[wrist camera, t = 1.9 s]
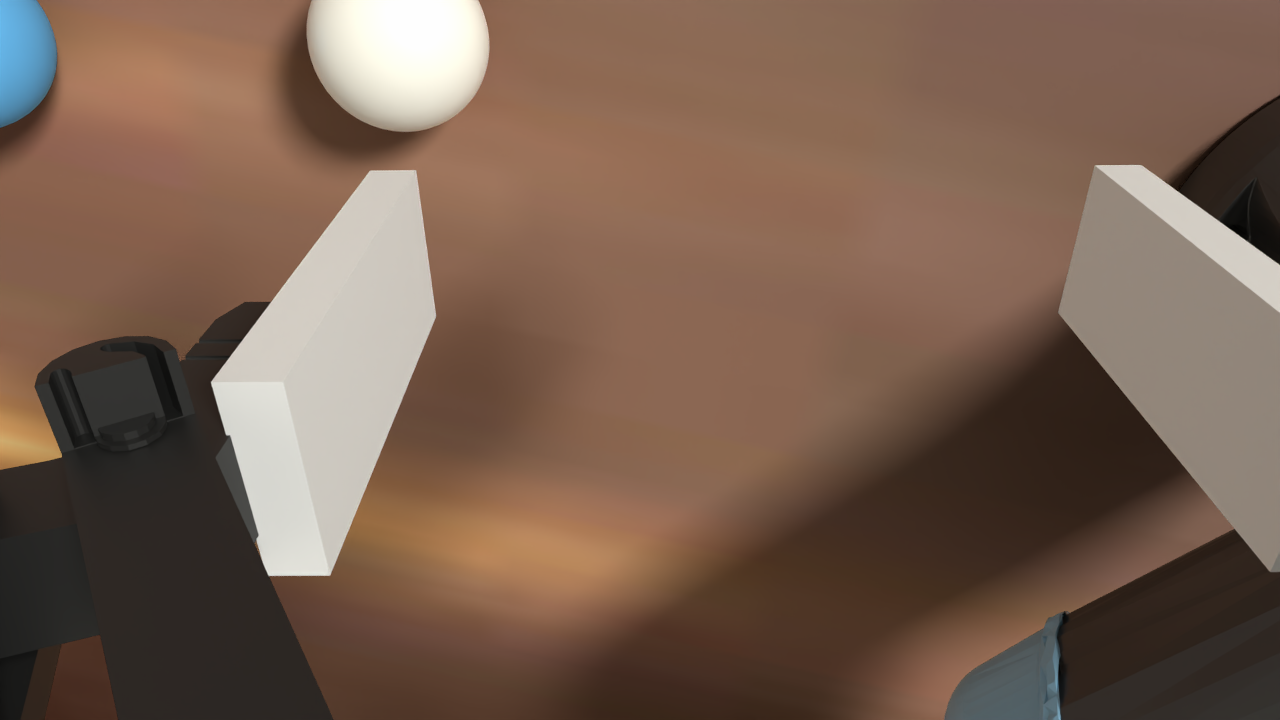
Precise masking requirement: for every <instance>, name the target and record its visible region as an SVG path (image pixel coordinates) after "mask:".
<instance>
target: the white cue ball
mask: <svg viewBox="0 0 1280 720" xmlns="http://www.w3.org/2000/svg"><path fill="white" fill-rule="evenodd" d="M307 42H308V50H309V54H310V58H311V61H312V64H313V67H314V70H315V72H316V74H317V76H318V78H319V80H320V82H321V83H322V85H323V86H324V88H325V89H326V91H327V92H328V93H329V94H330V96H331V97H332V98H333V99H334V100H335V101H336V102H337V103H338V104H339V105H340V106H341V107H342V108H343V109H344V110H346V111H347V112H348V113H350V114H351V115H352V116H354V117H356V118H357V119H359V120H361V121H363V122H365V123H367V124H369V125H372V126H375V127H378V128H381V129H385V130H391V131H399V132H413V131H421V130H426V129H429V128H432V127H435V126H438V125H440V124H442V123H444V122H446V121H448V120H450V119H451V118H453V117H454V116H456V115H457V114H458V113H459V112H460V111H461V110H462V109H464V108H465V107H466V106H467V105H468V103H469V102H470V101H471V100H472V98H473V97H474V96H475V94H476V92H477V91H478V89H479V87H480V85H481V83H482V80H483V78H484V75H485V72H486V68H487V64H488V58H489V34H488V27H487V23H486V20H485V16H484V13H483V10H482V8H481V6H480V3H479V1H478V0H312V1H311V4H310V8H309V11H308V18H307Z"/></svg>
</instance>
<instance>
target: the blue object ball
mask: <svg viewBox="0 0 1280 720" xmlns="http://www.w3.org/2000/svg"><path fill="white" fill-rule="evenodd" d="M56 66H57V47H56V41H55V37H54V33H53V30H52V27H51V25H50V22H49V20H48V18H47V16H46V14H45V12H44V11H43V9H42V8H41V6H40V4H39V3H38V2H37V0H0V128H1V127H4V126H7V125H9V124H12V123H14V122H16V121H18V120H20V119H21V118H23V117H25V116H26V115H28V114H29V113H30V112H31V111H33V110H34V109H35V108H36V107H37V106H38V105H39V104H40V102H41V101H42V100H43V99H44V98H45V96H46V95H47V93H48V91H49V89H50V87H51V85H52V82H53V79H54V76H55V72H56Z"/></svg>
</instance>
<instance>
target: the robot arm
mask: <svg viewBox="0 0 1280 720" xmlns="http://www.w3.org/2000/svg"><path fill="white" fill-rule="evenodd" d="M1058 313H1059V314H1060V316H1061V317H1062V318H1063V319H1064V321H1065V322H1066V323H1067V324H1068V326H1069V327H1070V328H1071V329H1072V330H1073V332H1074V333H1075V334H1076V335H1077V337H1078V338H1079V339H1080V340H1081V341H1082V343H1083V344H1084V345H1085V346H1086V348H1087V349H1088V350H1089V351H1090V352H1091V354H1092V355H1093V356H1094V357H1095V359H1096V360H1097V361H1098V362H1099V363H1100V365H1101V366H1102V367H1103V368H1104V370H1105V371H1106V372H1107V373H1108V374H1109V376H1110V377H1111V378H1112V379H1113V381H1114V382H1115V383H1116V384H1117V385H1118V387H1119V388H1120V389H1121V390H1122V392H1123V393H1124V394H1125V395H1126V396H1127V398H1128V399H1129V400H1130V401H1131V403H1132V404H1133V405H1134V406H1135V407H1136V409H1137V410H1138V411H1139V412H1140V414H1141V415H1142V416H1143V417H1144V418H1145V420H1146V421H1147V422H1148V423H1149V425H1150V426H1151V427H1152V428H1153V429H1154V431H1155V432H1156V433H1157V434H1158V436H1159V437H1160V438H1161V439H1162V440H1163V442H1164V443H1165V444H1166V445H1167V447H1168V448H1169V449H1170V450H1171V451H1172V453H1173V454H1174V455H1175V456H1176V458H1177V459H1178V460H1179V461H1180V462H1181V464H1182V465H1183V466H1184V467H1185V469H1186V470H1187V471H1188V472H1189V473H1190V475H1191V476H1192V477H1193V478H1194V480H1195V481H1196V482H1197V483H1198V484H1199V486H1200V487H1201V488H1202V489H1203V491H1204V492H1205V493H1206V494H1207V496H1208V497H1209V498H1210V499H1211V500H1212V502H1213V503H1214V504H1215V505H1216V507H1217V508H1218V509H1219V510H1220V511H1221V513H1222V514H1223V515H1224V516H1225V518H1226V519H1227V520H1228V521H1229V522H1230V524H1231V525H1232V526H1233V527H1234V529H1233V530H1231V531H1229V532H1227V533H1225V534H1223V535H1221V536H1219V537H1217V538H1216V539H1214V540H1212V541H1210V542H1208V543H1206V544H1204V545H1202V546H1200V547H1198V548H1196V549H1194V550H1192V551H1190V552H1188V553H1186V554H1184V555H1182V556H1180V557H1178V558H1176V559H1175V560H1173V561H1171V562H1169V563H1167V564H1165V565H1163V566H1161V567H1159V568H1157V569H1155V570H1153V571H1151V572H1149V573H1147V574H1145V575H1143V576H1141V577H1139V578H1137V579H1135V580H1134V581H1132V582H1130V583H1128V584H1126V585H1124V586H1122V587H1120V588H1118V589H1116V590H1114V591H1112V592H1110V593H1108V594H1106V595H1104V596H1102V597H1100V598H1098V599H1096V600H1094V601H1093V602H1091V603H1089V604H1087V605H1085V606H1083V607H1081V608H1079V609H1077V610H1075V611H1073V612H1071V613H1069V612H1068V611H1064V612H1062V613H1059V614H1056V615H1055V616H1053V617H1049V618H1048V620H1047V621H1046V624H1045V627H1044V628H1043V629H1041V630H1040V631H1038V632H1036V633H1035V634H1033V635H1031V636H1029V637H1028V638H1026V639H1024V640H1022V641H1021V642H1019V643H1017V644H1016V645H1014V646H1012V647H1010V648H1009V649H1007V650H1005V651H1003V652H1002V653H1000V654H998V655H997V656H995V657H993V658H991V659H990V660H988V661H986V662H985V663H983V664H981V665H979V666H978V667H976V668H975V669H973V670H972V671H971V672H969V673H968V674H967V675H966V676H965V677H964V678H963V679H962V680H961V681H960V683H959V684H958V685H957V687H956V689H955V690H954V692H953V694H952V696H951V698H950V700H949V703H948V706H947V709H946V713H945V718H944V720H1280V98H1279V99H1278V100H1276V101H1274V102H1273V103H1271V104H1270V105H1268V106H1267V107H1265V108H1264V109H1262V110H1261V111H1259V112H1258V113H1257V114H1255V115H1254V116H1253V117H1251V118H1250V119H1249V120H1247V121H1246V122H1245V123H1243V124H1242V125H1241V126H1240V127H1238V128H1237V129H1236V130H1235V131H1234V132H1232V133H1231V134H1230V135H1229V136H1228V137H1227V138H1226V139H1224V140H1223V141H1222V142H1221V143H1220V144H1219V145H1218V146H1217V147H1216V148H1215V149H1214V150H1213V151H1212V152H1211V153H1210V154H1209V155H1208V156H1207V157H1206V158H1205V159H1204V160H1203V161H1202V163H1201V164H1200V165H1199V166H1198V167H1197V168H1196V170H1195V171H1194V172H1193V173H1192V174H1191V175H1190V177H1189V178H1188V179H1187V181H1186V182H1185V183H1184V185H1183V186H1182V187H1181V189H1180V190H1179V192H1178V191H1176V190H1175V189H1174V188H1172V187H1171V186H1169V185H1168V184H1167V183H1165V182H1164V181H1162V180H1161V179H1160V178H1158V177H1157V176H1156V175H1154V174H1153V173H1151V172H1150V171H1149V170H1147V169H1146V168H1144V167H1143V166H1142V165H1095V166H1094V170H1093V174H1092V178H1091V182H1090V186H1089V190H1088V194H1087V198H1086V202H1085V206H1084V210H1083V214H1082V219H1081V223H1080V227H1079V231H1078V235H1077V239H1076V243H1075V247H1074V251H1073V255H1072V259H1071V263H1070V267H1069V271H1068V275H1067V279H1066V283H1065V287H1064V291H1063V295H1062V299H1061V303H1060V307H1059V311H1058ZM435 318H436V312H435V305H434V298H433V290H432V283H431V276H430V268H429V261H428V254H427V247H426V239H425V232H424V225H423V217H422V210H421V203H420V195H419V188H418V181H417V174H416V170H390V171H370V172H369V173H368V174H367V176H366V177H365V178H364V180H363V181H362V182H361V184H360V185H359V186H358V188H357V189H356V190H355V192H354V193H353V194H352V196H351V197H350V198H349V200H348V201H347V202H346V204H345V205H344V206H343V207H342V209H341V210H340V211H339V213H338V214H337V215H336V217H335V218H334V219H333V221H332V222H331V223H330V225H329V226H328V227H327V229H326V230H325V231H324V233H323V234H322V235H321V237H320V238H319V239H318V241H317V242H316V243H315V245H314V246H313V247H312V249H311V250H310V251H309V253H308V254H307V255H306V257H305V258H304V259H303V261H302V262H301V263H300V265H299V266H298V267H297V269H296V270H295V271H294V273H293V274H292V275H291V277H290V278H289V279H288V281H287V282H286V283H285V284H284V286H283V287H282V288H281V290H280V291H279V292H278V294H277V295H276V296H275V298H274V299H273V300H272V302H244V303H243V304H241V305H239V306H238V307H236V308H234V309H233V310H231V311H229V312H228V313H226V314H224V315H223V316H221V317H219V318H218V319H216V320H215V321H214V322H213V323H212V325H211V326H210V327H209V328H208V329H207V331H206V332H205V333H204V334H203V335H202V337H201V338H200V339H199V343H196V344H195V345H194V346H193V347H192V349H191V350H190V351H189V352H188V353H187V355H186V356H185V357H186V359H185V360H182V361H181V362H180V361H179V358H178V355H177V351H176V349H175V348H174V347H173V346H172V345H171V344H170V343H168V342H167V341H166V340H162V339H157V338H153V337H149V336H125V337H119V338H113V339H108V340H102V341H98V342H95V343H92V344H89V345H86V346H83V347H80V348H77V349H74V350H72V351H70V352H68V353H66V354H64V355H62V356H60V357H59V358H57V359H55V360H53V361H51V362H50V363H49V364H48V365H47V366H46V367H45V368H44V369H43V370H42V371H41V372H40V373H39V374H38V376H37V380H36V383H35V389H36V391H37V394H38V396H39V399H40V401H41V404H42V406H43V409H44V411H45V413H46V416H47V418H48V421H49V423H50V426H51V428H52V431H53V433H54V436H55V438H56V441H57V443H58V446H59V448H60V451H61V453H62V458H58V459H54V460H50V461H45V462H40V463H35V464H29V465H24V466H19V467H13V468H8V469H3V470H0V720H44V719H45V714H46V710H47V705H48V701H49V697H50V692H51V688H52V683H53V679H54V675H55V670H56V666H57V662H58V657H59V653H60V648H61V644H63V643H67V642H71V641H75V640H80V639H84V638H88V637H92V636H96V635H100V636H101V641H102V645H103V650H104V655H105V659H106V664H107V669H108V674H109V678H110V683H111V688H112V692H113V697H114V702H115V706H116V711H117V716H118V720H333V718H332V715H331V713H330V711H329V709H328V706H327V704H326V702H325V700H324V698H323V695H322V693H321V691H320V689H319V686H318V684H317V682H316V680H315V678H314V675H313V673H312V671H311V669H310V667H309V664H308V662H307V660H306V658H305V655H304V653H303V651H302V649H301V647H300V644H299V642H298V640H297V638H296V635H295V633H294V631H293V629H292V627H291V624H290V622H289V620H288V618H287V615H286V613H285V611H284V609H283V607H282V604H281V602H280V600H279V598H278V595H277V593H276V591H275V589H274V587H273V584H272V582H271V580H270V578H269V576H330V575H331V572H332V570H333V567H334V565H335V562H336V560H337V558H338V555H339V553H340V550H341V548H342V545H343V543H344V540H345V538H346V536H347V533H348V531H349V528H350V526H351V523H352V521H353V518H354V516H355V513H356V511H357V509H358V506H359V504H360V501H361V499H362V496H363V494H364V491H365V489H366V487H367V484H368V482H369V479H370V477H371V474H372V472H373V469H374V467H375V465H376V462H377V460H378V457H379V455H380V452H381V450H382V447H383V445H384V443H385V440H386V438H387V435H388V433H389V430H390V428H391V425H392V423H393V421H394V418H395V416H396V413H397V411H398V408H399V406H400V403H401V401H402V398H403V396H404V394H405V391H406V389H407V386H408V384H409V381H410V379H411V376H412V374H413V372H414V369H415V367H416V364H417V362H418V359H419V357H420V354H421V352H422V350H423V347H424V345H425V342H426V340H427V337H428V335H429V332H430V330H431V328H432V325H433V323H434V320H435ZM256 540H257V544H258V547H259V551H260V554H261V557H262V560H261V558H260V556H259V553H258V551H257V549H256V547H255V544H254V543H255V541H256ZM262 561H263V562H262Z"/></svg>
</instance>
